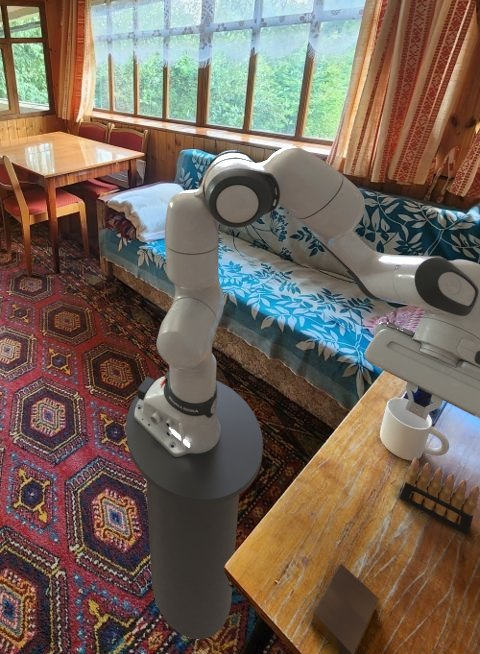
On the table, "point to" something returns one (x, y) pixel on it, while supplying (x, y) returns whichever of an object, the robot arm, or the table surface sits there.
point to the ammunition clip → (440, 496)
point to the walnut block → (345, 611)
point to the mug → (408, 432)
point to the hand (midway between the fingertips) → (415, 414)
